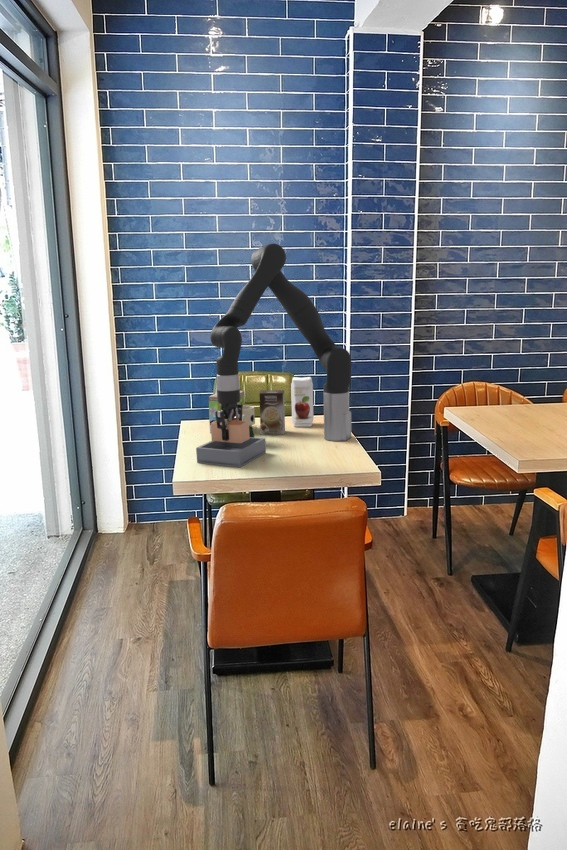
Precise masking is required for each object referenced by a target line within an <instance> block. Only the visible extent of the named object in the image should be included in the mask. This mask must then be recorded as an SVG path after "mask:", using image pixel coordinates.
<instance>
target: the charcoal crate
mask: <svg viewBox="0 0 567 850" xmlns="http://www.w3.org/2000/svg"><path fill="white" fill-rule="evenodd" d="M195 451H196V462H197V464H205V465H215V466H225V467H232V468H233V467H234V468H241V467H243V466H246V465H247V464H248V463H251V462H252V461H254V460H256V459H258V458H259V457H261V456H263V455H264V454H266V453H267V452H266V451H267V449H266V438H262V437H255V436H254V437H250V439H249V440H247V441H245V442H243V443H230V442H220V441H212V440H210V441H207V442H206V443H204V444H202V445H199V446H197V447H195Z"/></svg>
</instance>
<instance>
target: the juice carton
mask: <svg viewBox="0 0 567 850" xmlns="http://www.w3.org/2000/svg"><path fill="white" fill-rule="evenodd" d="M290 394H291V395H290V398H291V400H290V401H291V421H292V424H293V427H294V428H304V427H305V428H311V427H312V426H313V422H314V383H313V379H312V377H311V376H307V377H306V376H304V377H299V376H298V377H297V376H296V377H295V376H293V377H292V379H291V383H290Z"/></svg>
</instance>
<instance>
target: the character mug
mask: <svg viewBox="0 0 567 850" xmlns="http://www.w3.org/2000/svg"><path fill="white" fill-rule="evenodd" d="M238 411H239V410H238ZM255 416H256V414H255V406H253V405H245V406H243V410H242V421H249V436H250V437H254V438H255V434H254V429H253V426H254V425H255V424H256V417H255Z"/></svg>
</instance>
